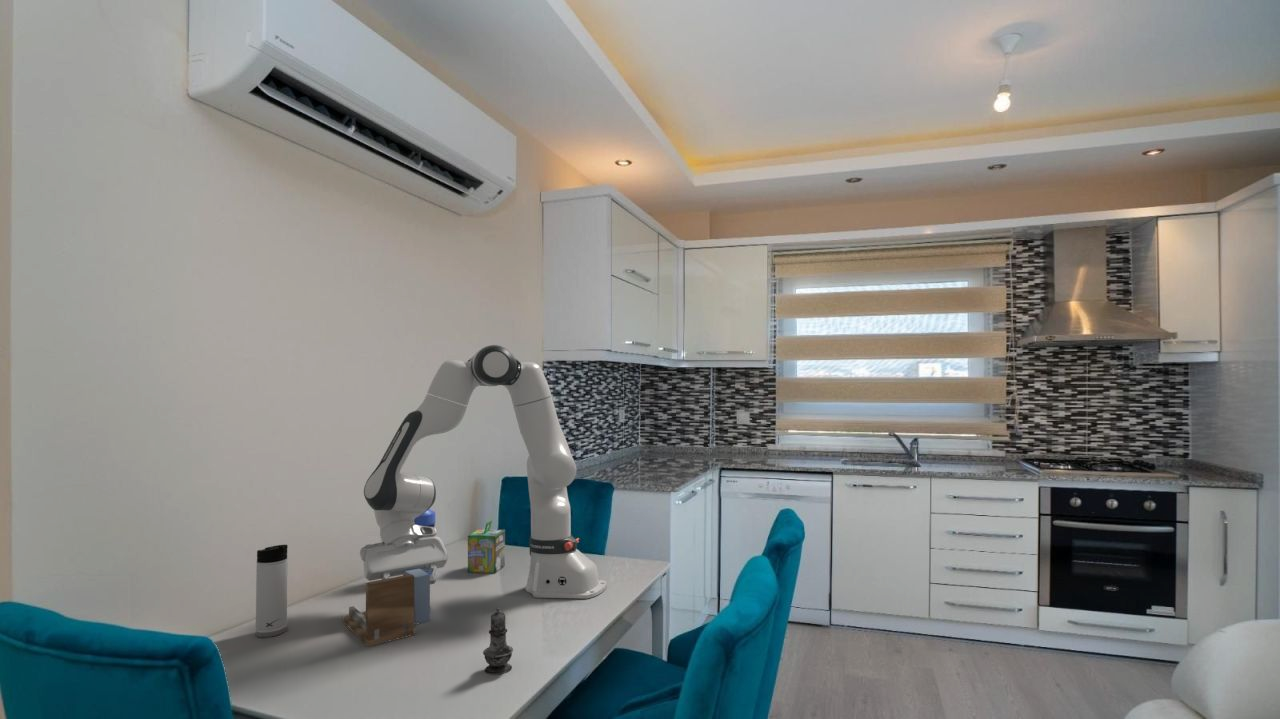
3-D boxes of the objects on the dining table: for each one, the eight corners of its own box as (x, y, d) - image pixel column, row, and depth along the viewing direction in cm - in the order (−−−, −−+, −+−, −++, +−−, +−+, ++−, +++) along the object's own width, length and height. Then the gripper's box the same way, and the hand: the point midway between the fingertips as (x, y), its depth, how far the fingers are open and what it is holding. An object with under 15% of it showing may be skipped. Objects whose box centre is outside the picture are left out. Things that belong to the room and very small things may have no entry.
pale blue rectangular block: (405, 616, 158) (405, 571, 158) (419, 613, 160) (419, 568, 161) (415, 624, 152) (415, 577, 153) (429, 620, 155) (429, 574, 155)
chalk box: (478, 565, 204) (477, 518, 205) (505, 565, 203) (505, 518, 204) (466, 573, 195) (466, 524, 196) (495, 573, 194) (495, 524, 195)
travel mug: (274, 638, 145) (275, 548, 146) (248, 637, 146) (250, 548, 147) (294, 628, 151) (295, 542, 152) (269, 627, 152) (271, 541, 153)
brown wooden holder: (343, 621, 155) (343, 566, 155) (385, 612, 161) (385, 559, 162) (368, 646, 139) (368, 584, 140) (414, 634, 146) (414, 575, 146)
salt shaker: (485, 663, 130) (485, 603, 130) (515, 662, 130) (514, 602, 131) (480, 676, 124) (480, 613, 124) (511, 674, 124) (511, 611, 125)
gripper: (361, 538, 158) (372, 588, 150) (441, 527, 171) (456, 571, 163) (355, 553, 161) (366, 602, 153) (435, 541, 174) (449, 585, 166)
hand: (413, 586), depth 158 cm, fingers open, 8 cm apart
